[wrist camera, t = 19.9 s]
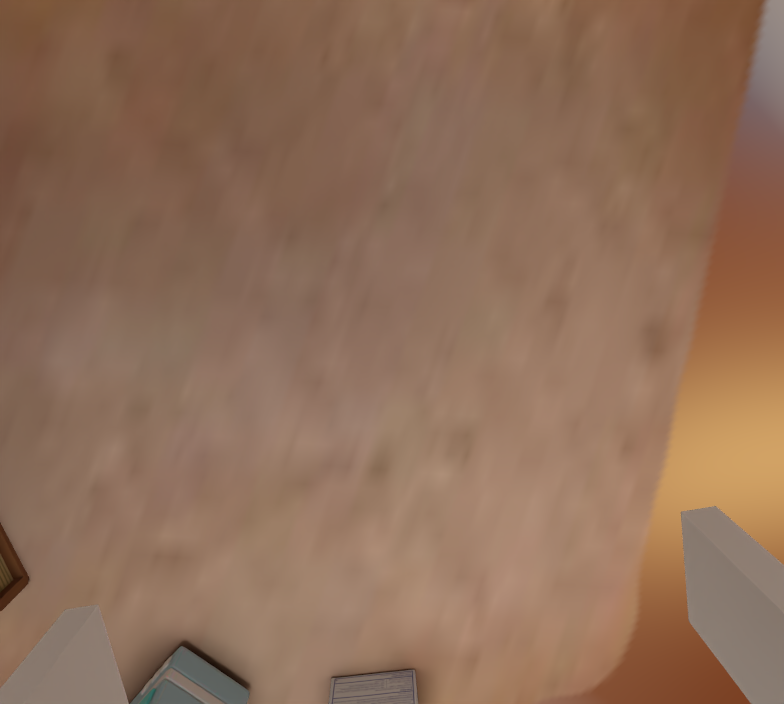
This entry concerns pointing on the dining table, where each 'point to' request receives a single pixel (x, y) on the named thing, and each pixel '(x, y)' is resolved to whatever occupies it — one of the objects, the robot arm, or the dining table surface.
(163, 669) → the radio
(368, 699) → the medicine box
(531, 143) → the dining table surface
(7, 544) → the diary
